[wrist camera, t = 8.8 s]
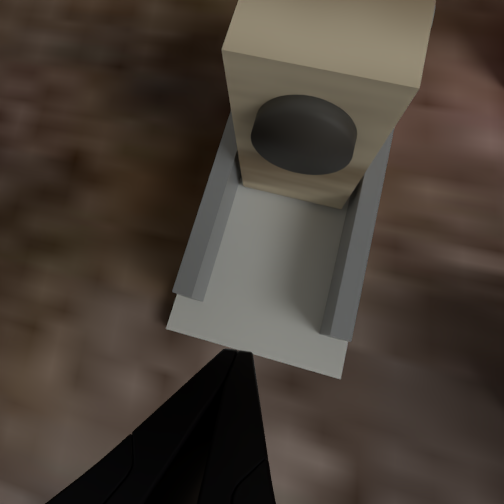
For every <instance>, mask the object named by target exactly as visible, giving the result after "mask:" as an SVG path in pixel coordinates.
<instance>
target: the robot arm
mask: <svg viewBox="0 0 504 504" xmlns="http://www.w3.org/2000/svg"><path fill="white" fill-rule="evenodd" d="M45 504H276V502H275V497H274V491H273V486H272V480H271V474H270V467H269V461H268V455H267V448H266V441H265V434H264V427H263V421H262V414H261V407H260V400H259V393H258V386H257V380H256V373H255V366H254V359H253V353H252V352H250V351H242V350H240V351H237V350H234V349H223V350H222V351H221V352H219V353H218V354H217V355H216V356H215V357H214V358H213V359H212V360H211V361H210V362H209V363H207V364H206V365H205V366H204V367H203V368H202V369H201V370H200V371H199V372H198V373H196V374H195V375H194V376H193V377H192V378H191V379H190V380H189V381H188V382H187V383H185V384H184V385H183V386H182V387H181V388H180V389H179V390H178V391H177V392H176V393H175V394H173V395H172V396H171V397H170V398H169V399H168V400H167V401H166V402H165V403H164V404H162V405H161V406H160V407H159V408H158V409H157V410H156V411H155V412H154V413H153V414H152V415H150V416H149V417H148V418H147V419H146V420H145V421H144V422H143V423H142V424H141V425H139V426H138V427H137V428H136V429H135V430H134V431H133V432H132V434H129V435H128V436H127V437H126V438H125V439H124V440H123V441H122V442H121V443H120V444H118V445H117V446H116V447H115V448H114V449H113V450H112V451H110V452H109V453H108V454H107V455H106V456H105V457H104V458H102V459H101V460H100V461H99V462H98V463H97V464H95V465H94V466H93V467H92V468H90V469H89V470H88V471H87V472H85V473H84V474H83V475H82V476H80V477H79V478H78V479H77V480H75V481H74V482H73V483H71V484H70V485H69V486H68V487H66V488H65V489H64V490H62V491H61V492H60V493H58V494H57V495H56V496H55V497H53V498H52V499H51V500H49V501H48V502H47V503H45Z"/></svg>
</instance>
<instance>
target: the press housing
mask: <svg viewBox="0 0 504 504" xmlns="http://www.w3.org/2000/svg"><path fill="white" fill-rule="evenodd" d="M435 7H436V6H435ZM434 12H435V9H434ZM433 18H434V14H433ZM432 23H433V19H432ZM431 27H432V25H431ZM393 132H394V129H393V130H392V132H391V133H390V135H389V136H388V138H387V139H386V141H385V143H384V144H383V146H382V147H381V149H380V150H379V152H378V153H377V155H376V156H375V158H374V160H373V161H372V163H371V164H370V166H369V167H368V169H367V170H366V172H365V173H364V175H363V177H362V178H361V180H360V181H359V183H358V184H357V186H356V187H355V189H354V190H353V192H352V194H351V195H350V197H349V198H348V200H347V201H346V203H345V204H344V206H343V207H342V209H337V208H333V207H328V206H324V205H320V204H316V203H312V202H307V201H303V200H299V199H295V198H291V197H286V196H282V195H278V194H274V193H270V192H265V191H261V190H257V189H253V188H249V187H244V186H243V181H242V175H241V168H240V162H239V156H238V150H237V143H236V137H235V131H234V125H233V118H232V112H230V115H229V118H228V121H227V124H226V127H225V130H224V133H223V136H222V139H221V142H220V146H219V149H218V152H217V155H216V158H215V161H214V164H213V167H212V170H211V173H210V176H209V179H208V182H207V186H206V189H205V192H204V195H203V198H202V201H201V204H200V207H199V210H198V213H197V216H196V219H195V223H194V226H193V229H192V232H191V235H190V238H189V241H188V244H187V247H186V250H185V253H184V256H183V260H182V263H181V266H180V269H179V272H178V275H177V278H176V281H175V284H174V287H173V290H172V292H173V293H176V294H177V296H176V299H175V302H174V305H173V308H172V311H171V314H170V317H169V321H168V324H167V327H166V329H168V330H172V331H175V332H179V333H182V334H186V335H189V336H192V337H196V338H199V339H203V340H206V341H210V342H213V343H217V344H220V345H224V346H227V347H230V348H234V349H237V350H242V351H250V352H252V353H253V354H255V355H258V356H262V357H265V358H268V359H272V360H275V361H279V362H282V363H286V364H289V365H293V366H296V367H300V368H303V369H306V370H310V371H313V372H317V373H320V374H324V375H327V376H331V377H334V378H338V379H341V375H342V370H343V365H344V360H345V355H346V350H347V345H348V341H350V342H351V340H352V335H353V330H354V325H355V321H356V316H357V311H358V306H359V301H360V296H361V291H362V286H363V281H364V276H365V271H366V266H367V261H368V256H369V251H370V246H371V241H372V236H373V231H374V226H375V221H376V216H377V211H378V206H379V201H380V196H381V191H382V186H383V181H384V176H385V171H386V166H387V161H388V156H389V152H390V147H391V142H392V137H393Z"/></svg>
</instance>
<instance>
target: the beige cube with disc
mask: <svg viewBox="0 0 504 504" xmlns="http://www.w3.org/2000/svg"><path fill="white" fill-rule="evenodd" d="M435 3H436V0H239V1H238V3H237V6H236V9H235V12H234V15H233V18H232V21H231V24H230V26H229V29H228V32H227V35H226V38H225V41H224V44H223V47H222V56H223V62H224V68H225V75H226V81H227V87H228V93H229V100H230V106H231V112H232V118H233V125H234V131H235V137H236V143H237V150H238V156H239V162H240V168H241V175H242V181H243V186H244V187H249V188H253V189H257V190H261V191H265V192H270V193H274V194H278V195H282V196H286V197H291V198H295V199H299V200H303V201H307V202H312V203H316V204H320V205H324V206H328V207H333V208H337V209H342V207H343V206H344V204H345V203H346V201H347V200H348V198H349V197H350V195H351V194H352V192H353V190H354V189H355V187H356V186H357V184H358V183H359V181H360V180H361V178H362V177H363V175H364V173H365V172H366V170H367V169H368V167H369V166H370V164H371V163H372V161H373V160H374V158H375V156H376V155H377V153H378V152H379V150H380V149H381V147H382V146H383V144H384V143H385V141H386V139H387V138H388V136H389V135H390V133H391V132H392V130H393V129H394V127H395V126H396V124H397V122H398V121H399V119H400V118H401V116H402V115H403V113H404V112H405V110H406V109H407V107H408V105H409V104H410V102H411V101H412V99H413V98H414V96H415V95H416V93H417V91H418V90H419V88H420V83H421V78H422V72H423V67H424V62H425V56H426V51H427V46H428V40H429V35H430V30H431V25H432V19H433V14H434V9H435Z"/></svg>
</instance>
